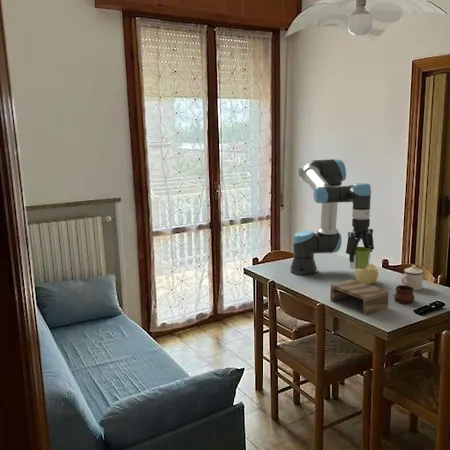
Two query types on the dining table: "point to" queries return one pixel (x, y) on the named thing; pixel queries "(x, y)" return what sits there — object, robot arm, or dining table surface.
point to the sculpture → (367, 274)
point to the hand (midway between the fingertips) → (359, 266)
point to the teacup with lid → (413, 277)
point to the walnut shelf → (361, 295)
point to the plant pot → (362, 257)
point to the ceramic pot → (404, 294)
